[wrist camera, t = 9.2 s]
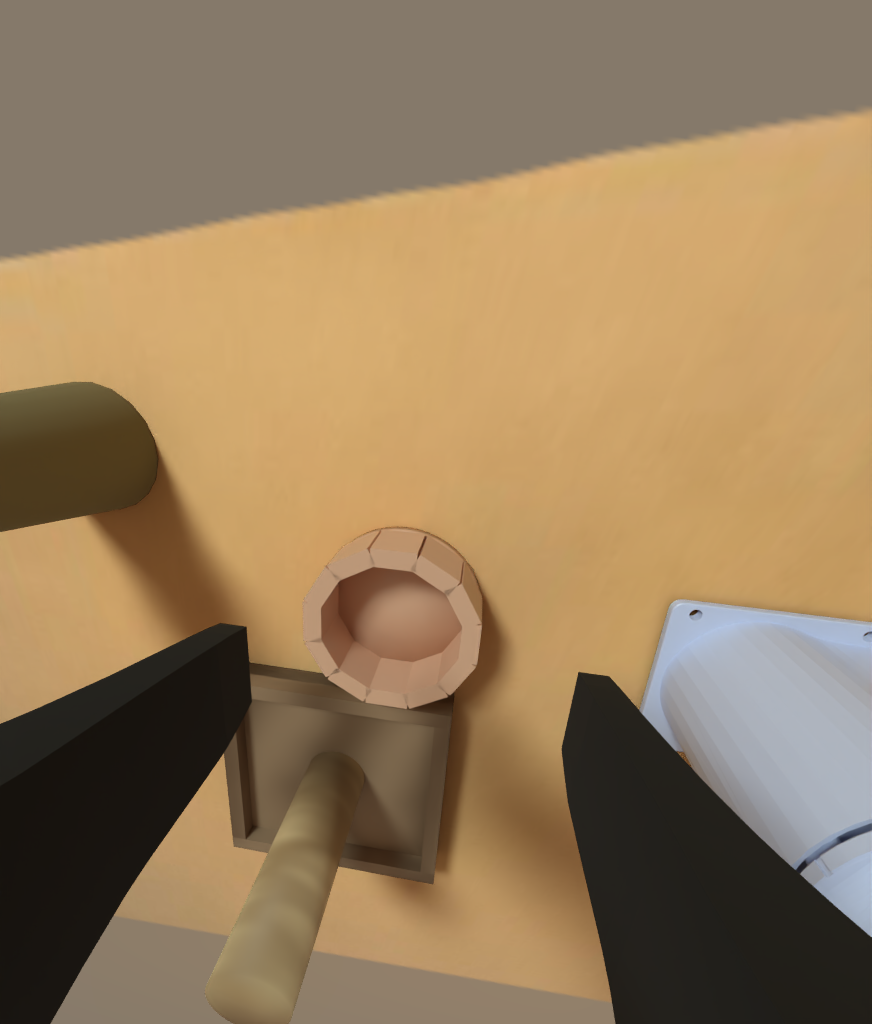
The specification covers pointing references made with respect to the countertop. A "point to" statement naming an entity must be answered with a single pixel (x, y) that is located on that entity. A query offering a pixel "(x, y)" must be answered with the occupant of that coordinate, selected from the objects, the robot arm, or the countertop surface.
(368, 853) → the walnut tray
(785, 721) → the robot arm
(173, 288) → the countertop surface
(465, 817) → the countertop surface
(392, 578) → the pink round piece
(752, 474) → the countertop surface
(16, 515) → the olive green pawn
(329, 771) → the dowel pin
